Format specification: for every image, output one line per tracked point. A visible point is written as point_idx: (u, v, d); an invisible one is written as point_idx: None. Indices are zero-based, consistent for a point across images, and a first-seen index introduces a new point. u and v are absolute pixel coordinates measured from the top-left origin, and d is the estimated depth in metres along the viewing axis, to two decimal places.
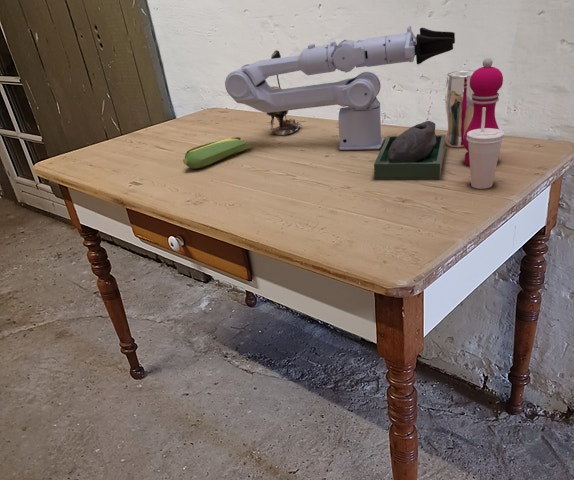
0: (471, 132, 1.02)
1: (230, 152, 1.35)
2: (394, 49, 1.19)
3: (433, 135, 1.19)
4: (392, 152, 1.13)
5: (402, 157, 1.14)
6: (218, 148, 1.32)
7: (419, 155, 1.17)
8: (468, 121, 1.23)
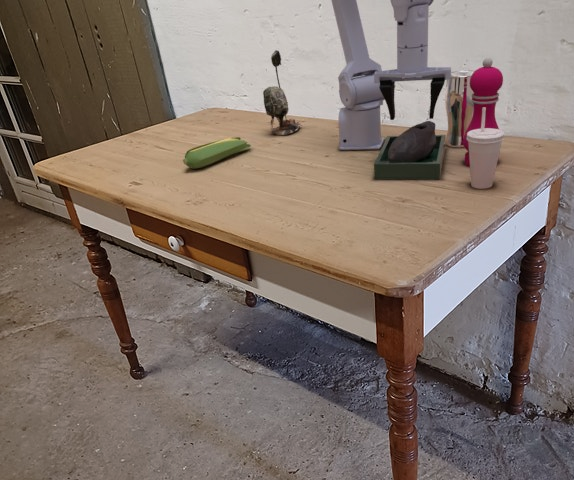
0: (471, 132, 1.02)
1: (230, 152, 1.35)
2: (397, 56, 1.09)
3: (433, 135, 1.19)
4: (392, 152, 1.13)
5: (402, 157, 1.14)
6: (218, 148, 1.32)
7: (419, 155, 1.17)
8: (468, 121, 1.23)
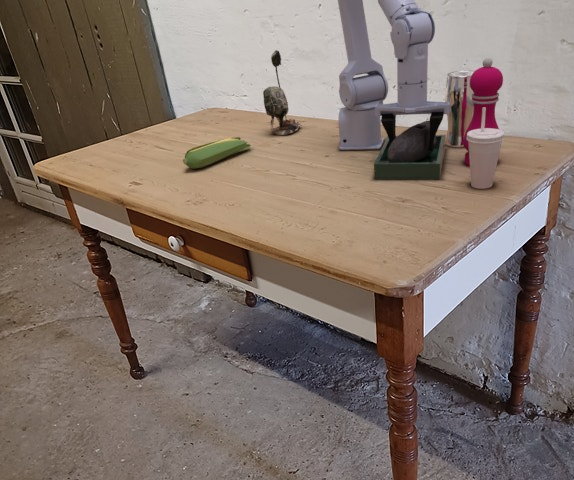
0: (471, 132, 1.02)
1: (230, 152, 1.35)
2: (397, 91, 1.13)
3: None
4: (392, 152, 1.13)
5: (402, 156, 1.14)
6: (218, 148, 1.32)
7: (419, 155, 1.17)
8: (468, 121, 1.23)
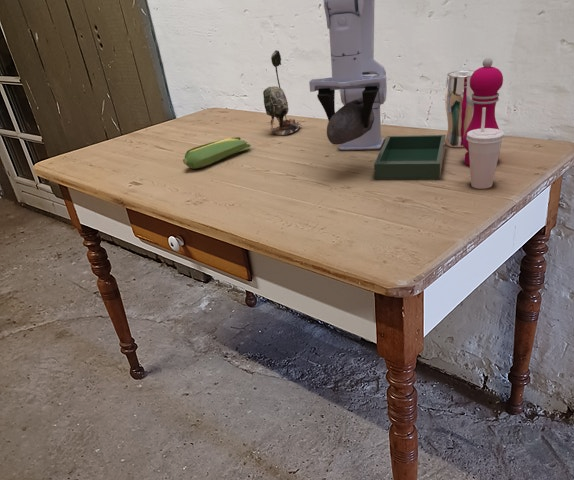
0: (471, 132, 1.02)
1: (230, 152, 1.35)
2: (331, 64, 1.07)
3: (371, 111, 1.14)
4: (331, 128, 1.08)
5: (342, 133, 1.09)
6: (218, 148, 1.32)
7: (358, 132, 1.12)
8: (468, 121, 1.23)
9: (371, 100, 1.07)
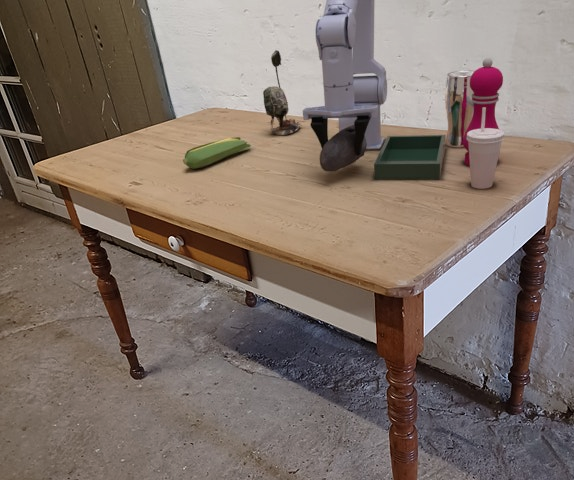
0: (471, 132, 1.02)
1: (230, 152, 1.35)
2: None
3: None
4: (324, 156, 1.10)
5: (334, 161, 1.11)
6: (218, 148, 1.32)
7: (350, 159, 1.14)
8: (468, 121, 1.23)
9: (363, 129, 1.09)
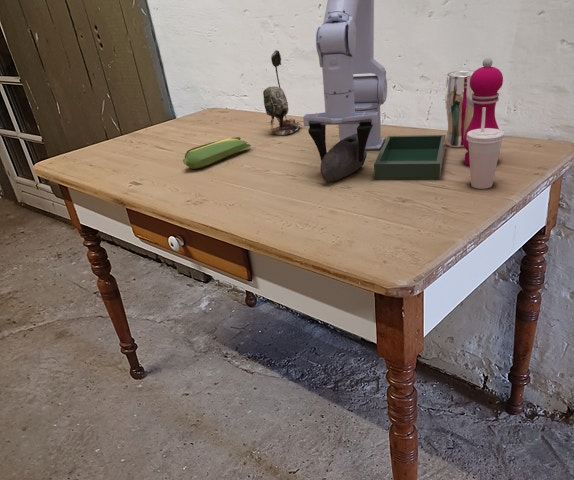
0: (471, 132, 1.02)
1: (230, 152, 1.35)
2: None
3: None
4: (324, 167, 1.11)
5: (335, 171, 1.12)
6: (218, 148, 1.32)
7: (351, 169, 1.15)
8: (468, 121, 1.23)
9: (365, 136, 1.09)
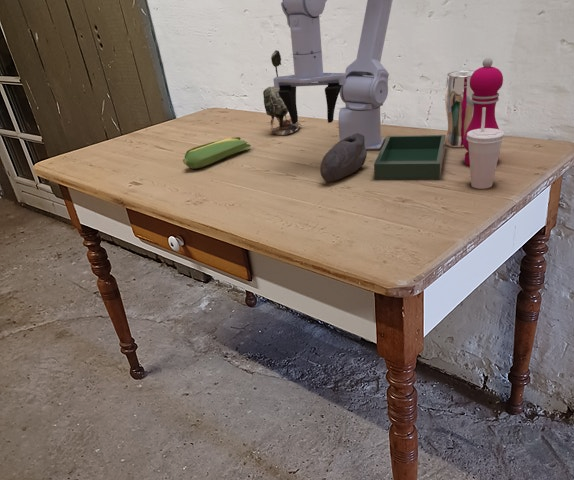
0: (471, 132, 1.02)
1: (230, 152, 1.35)
2: None
3: (363, 147, 1.18)
4: (324, 167, 1.11)
5: (335, 171, 1.12)
6: (218, 148, 1.32)
7: (351, 169, 1.15)
8: (468, 121, 1.23)
9: (333, 96, 1.12)
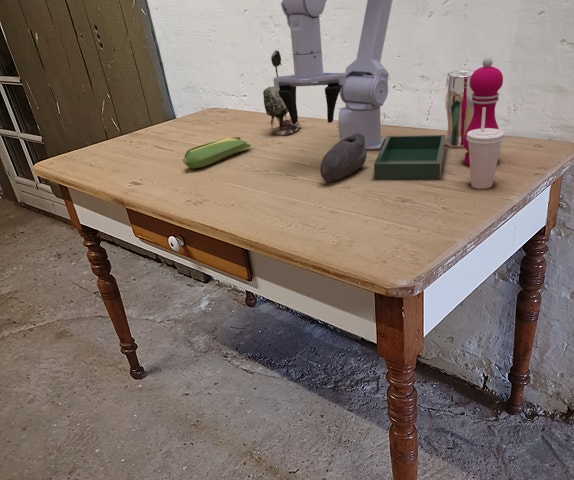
0: (471, 132, 1.02)
1: (230, 152, 1.35)
2: None
3: (363, 147, 1.18)
4: (324, 167, 1.11)
5: (335, 171, 1.12)
6: (218, 148, 1.32)
7: (351, 169, 1.15)
8: (468, 121, 1.23)
9: (333, 96, 1.12)
